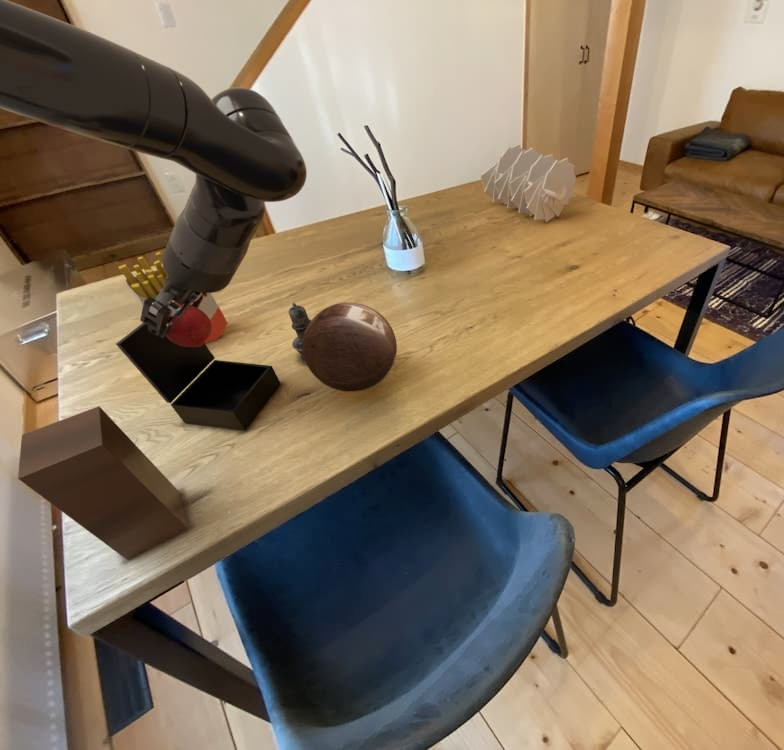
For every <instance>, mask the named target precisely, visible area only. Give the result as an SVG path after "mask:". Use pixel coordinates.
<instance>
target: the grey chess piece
mask: <svg viewBox="0 0 784 750" xmlns="http://www.w3.org/2000/svg"><path fill="white" fill-rule="evenodd" d="M288 316H289V318H290V320H291V323H292V324H291V328H292V330H294V331H295V334H296V337H295V338H294V339H293V341H292V343H291V345H292V348H293V349H294V350H295V351H297V353H298V354H299V360H300V362H301V363H302V364H304V365H307V364H306V361H305V358H304V354H303V338H304V334H305V331H306V329H307V327H308V325H309V323H310V322H311V320H312V319H311V318H309V315H308V313H307V311H306V308H305V307H304V306H302V305H299V304H298V305H297V303H295V302H292V306H291V307H290V308H289V310H288Z"/></svg>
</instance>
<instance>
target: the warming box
mask: <svg viewBox="0 0 784 750" xmlns="http://www.w3.org/2000/svg"><path fill="white" fill-rule="evenodd" d="M281 385H282V382H281V381H280V379H279V377H278V375H277V373H276V371H275V369H274V367H273V366H272V365H267V364H258V363H247V362H238V361H229V360H220V359H219V360H218V359H214V360H213V361H212V362H211V363H210V364H209V365H208V366H207V367H206V368H205V369H204V370H203V371H202V372H201V373H200V374H199V375H198V376H197V377H196V378H195V379H194V380H193V381H192V382H191V383H190V384H189V385H188V386H187V387H186V388H185V389H184V390H183V391H182V392H181V393H180V394H179V395H178V396H177V397H176V398H175V399H174V400H173V401H172V402H171V403H170V406H171V408H172V409H173V410H174V411H175V413H176V414H177V415H178V416H179V418H180V419H181V420H182V422H183V423H184V424H186V425H193V426H201V427H202V426H203V427H210V428H218V429H226V430H233V431H240V432H241V431H242V432H247V430H248V429H249V427H250V426H251V425H252V423H253V422H254V421H255V419H256V418H257V417H258V416H259V414H260V413H261V412H262V410H263V409H264V408H265V406H266V405H267V404H268V402H269V401H270V400H271V398H273V396H274V395H275V393H276V392H277V391H278V389H280V387H281Z"/></svg>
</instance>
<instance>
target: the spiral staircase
mask: <svg viewBox="0 0 784 750" xmlns="http://www.w3.org/2000/svg"><path fill="white" fill-rule="evenodd" d="M542 153H543V152H540V151H535V150H534V147H531V148H529V149H525V148H522V147H521V143H518V144H516V145H514V146H511V145H508V146H507V147H506V149H505V150H504V152H503V153H502V154H501V156H499V157H498V161H497V162H495V163H494V164H493V165H492V166H491V167H489V168H488V169H486V170H485V171H484V172H482V173H481V174H480V180H481V182H482V185H483V189H484V190H483V193H485V194H486V195H487V196H488V197H490V198H491V199H492V201H491V202H492V203H503V205H504V206H505V205H506V209H513V208H516V209H518V212H517V213H518V214H528V216H529V218H530V217H532V216H533V220H534V221H536V220H537V221H538V220H544V222H545V223H548V222H549V221H550V220H552V218H554V217H555V216H556V217H559V216H560V215H561V213H562V210H563V209H564V207H565V206H566V205H567V206H568V205H569V203H570V199H571V198H572V197H574V184H575V183H576V181H577V179H578V178H577V177H576V174H575V172H574V171H575V167H576V165H575V164H573V163H571V162H570V161H569V157H565V158H563V159H561V160H558V159H555V158H554V154H552V153H551V154H548V155H545V156H544V154H542Z"/></svg>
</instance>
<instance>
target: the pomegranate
mask: <svg viewBox="0 0 784 750" xmlns="http://www.w3.org/2000/svg"><path fill="white" fill-rule="evenodd" d="M172 302H174V303H175V304H177V305H178V306H180V307H182V306H183V305H184V304H178V303H177V302H175V301H172ZM170 316H171V313H170V315H169V317H170ZM211 327H212V324H211V321H210V319H209V318H208V316H207V315H206V314H205V313H204V312H203V311H201V310H200V309H198V308H196V307H194V306H191V307H190V308H189V309H188V311H187V312H186V313H185V314H183V315H181V316H179V317H177V318H176V320H175V321H174V322H173V325H172V326H171V328H170V330H169V332H168V334H167V335H166V337H167V338H168V339H169V340H170V341H172V342H174V343H175V344H177V345H179V346H183V347H200V346H202V345H203V344H204V342H205V341H206V340H207V338H208V337H209V335H210V334H211Z"/></svg>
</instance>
